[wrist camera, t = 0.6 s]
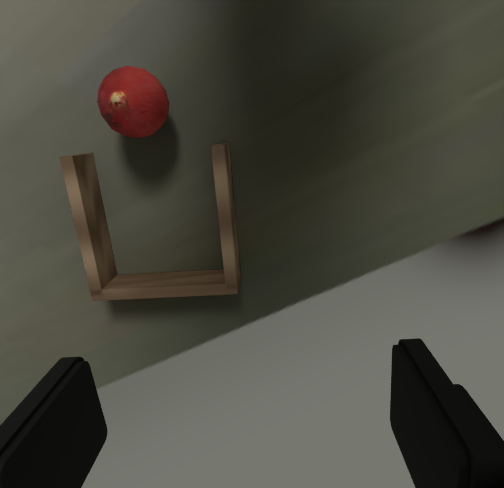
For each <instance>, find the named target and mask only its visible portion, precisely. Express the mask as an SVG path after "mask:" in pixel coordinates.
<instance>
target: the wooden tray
mask: <svg viewBox="0 0 504 488" xmlns="http://www.w3.org/2000/svg"><path fill="white" fill-rule="evenodd" d="M211 152H212V162H213V171H214V181H215V190H216V200H217V209H218V219H219V229H220V238H221V248H222V257H223V267H224V269H217V270H198V271H179V272H160V273H140V274H121V275H117V271H116V266H115V261H114V256H113V251H112V246H111V241H110V236H109V231H108V227H107V222H106V217H105V212H104V207H103V202H102V197H101V192H100V187H99V182H98V177H97V172H96V167H95V162H94V158H93V153H87V154H77V155H70V156H62V157H60V162H61V166H62V170H63V175H64V179H65V183H66V188H67V192H68V196H69V201H70V205H71V209H72V214H73V218H74V222H75V227H76V231H77V235H78V240H79V244H80V248H81V253H82V257H83V261H84V266H85V270H86V274H87V279H88V283H89V287H90V292H91V296H92V300H93V301H102V300H123V299H144V298H165V297H186V296H207V295H229V294H238V293H239V287H240V282H241V271H240V260H239V249H238V238H237V226H236V215H235V204H234V193H233V182H232V171H231V160H230V149H229V143H220V144H214V145H211Z"/></svg>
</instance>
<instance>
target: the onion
mask: <svg viewBox="0 0 504 488" xmlns="http://www.w3.org/2000/svg"><path fill="white" fill-rule="evenodd" d="M97 103H98V106H99V109H100V112H101V115H102V117H103V118H104V119H105V121H106V122H107V123H108V125H109V126H110V127H111V129H113V130H114V131H116V132H118V133H120V134H121V135H123V136H125V137H135V138H143V137H146V136H149V135H152V134H154V133H155V132H156V131H157V130H158V129H159V128H161V127H162V126H163V124H164V122H165V120H166V118H167V116H168V110H169V101H168V97H167V94H166V90H165V89H164V87H163V86H162V85H161V83H160V82H159V81H158V79H157V78H156V77H155V76H153V75H152V74H150V73H149V72H148V71H146V70H145V69H141V68H136V67H131V66H125V67H122V68H118V69H115V70H113V71H112V72H110V73H109V74H108V75H107V76H106V77H105V78H104V79H103V81H102V83H101V85H100V87H99V89H98V99H97Z"/></svg>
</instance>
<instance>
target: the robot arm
mask: <svg viewBox="0 0 504 488" xmlns="http://www.w3.org/2000/svg"><path fill="white" fill-rule="evenodd" d="M390 407H391V408H390V421H391V427H392V430H393V433H394V435H395V438H396V440H397V443H398V445H399V448H400V450H401V453H402V455H403V457H404V460H405V463H406V465H407V468H408V470H409V472H410V475H411V478H412V480H413V483H414V485H415V487H416V488H504V441H503V440H502V438H501V437H500V436H499V434H498V433H497V431H496V430H495V429H494V427H493V426H492V425H491V423H490V422H489V420H488V419H487V418H486V416H485V415H484V414H483V412H482V411H481V410H480V408H479V407H478V406H477V404H476V403H475V402H474V400H473V399H472V398H471V396H470V395H469V394H468V392H467V391H466V390H465V389H464V388H463V386H461V385H459V384H455V385H454V384H453V383H452V382H451V381H450V379H449V378H448V376H447V375H446V373H445V372H444V371H443V369H442V368H441V366H440V365H439V364H438V362H437V361H436V359H435V358H434V357H433V355H432V354H431V352H430V351H429V350H428V348H427V347H426V345H425V344H424V343H423V341H422V340H421V339H402V340H399V343H398V345H393V348H392V376H391V405H390ZM106 437H107V426H106V422H105V419H104V415H103V412H102V408H101V404H100V401H99V397H98V394H97V390H96V386H95V383H94V379H93V376H92V372H91V368H90V365H89V363H88V362H87V361H84V359H83V358H82V357H66V358H61V359H60V360H59V361H58V362H57V363H56V364H55V365H54V366H53V367H52V368H51V369H50V371H49V372H48V373H47V374H46V375H45V376H44V377H43V378H42V380H41V381H40V382H39V383H38V384H37V385H36V386H35V387H34V388H33V390H32V391H31V392H30V393H29V394H28V395H27V396H26V397H25V399H24V400H23V401H22V402H21V403H20V404H19V405H18V406H17V407H16V409H15V410H14V411H13V412H12V413H11V414H10V415H9V416H8V418H7V419H6V420H5V421H4V422H3V423H2V424H1V425H0V488H81V487H82V485H83V483H84V481H85V479H86V477H87V475H88V473H89V472H90V470H91V468H92V466H93V464H94V462H95V460H96V458H97V456H98V454H99V452H100V450H101V448H102V446H103V445H104V443H105V440H106Z"/></svg>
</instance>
